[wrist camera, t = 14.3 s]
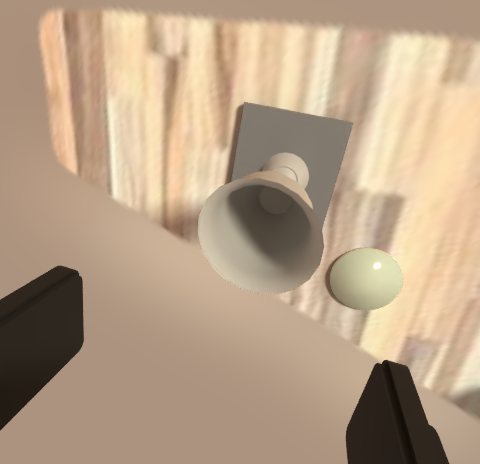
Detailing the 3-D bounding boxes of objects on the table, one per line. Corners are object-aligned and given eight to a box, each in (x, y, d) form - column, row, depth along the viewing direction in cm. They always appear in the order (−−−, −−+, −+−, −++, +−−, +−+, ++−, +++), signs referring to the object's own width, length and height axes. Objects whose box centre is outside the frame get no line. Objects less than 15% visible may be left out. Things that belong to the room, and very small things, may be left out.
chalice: (333, 173, 33) (352, 237, 17) (291, 220, 36) (272, 315, 19) (277, 128, 33) (241, 149, 16) (239, 179, 35) (175, 242, 19)
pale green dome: (393, 239, 36) (395, 242, 35) (407, 299, 38) (409, 303, 37) (321, 255, 38) (322, 258, 37) (338, 311, 40) (339, 315, 39)
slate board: (352, 122, 32) (353, 122, 31) (317, 238, 37) (317, 242, 36) (246, 102, 33) (244, 102, 33) (226, 217, 38) (224, 219, 38)
